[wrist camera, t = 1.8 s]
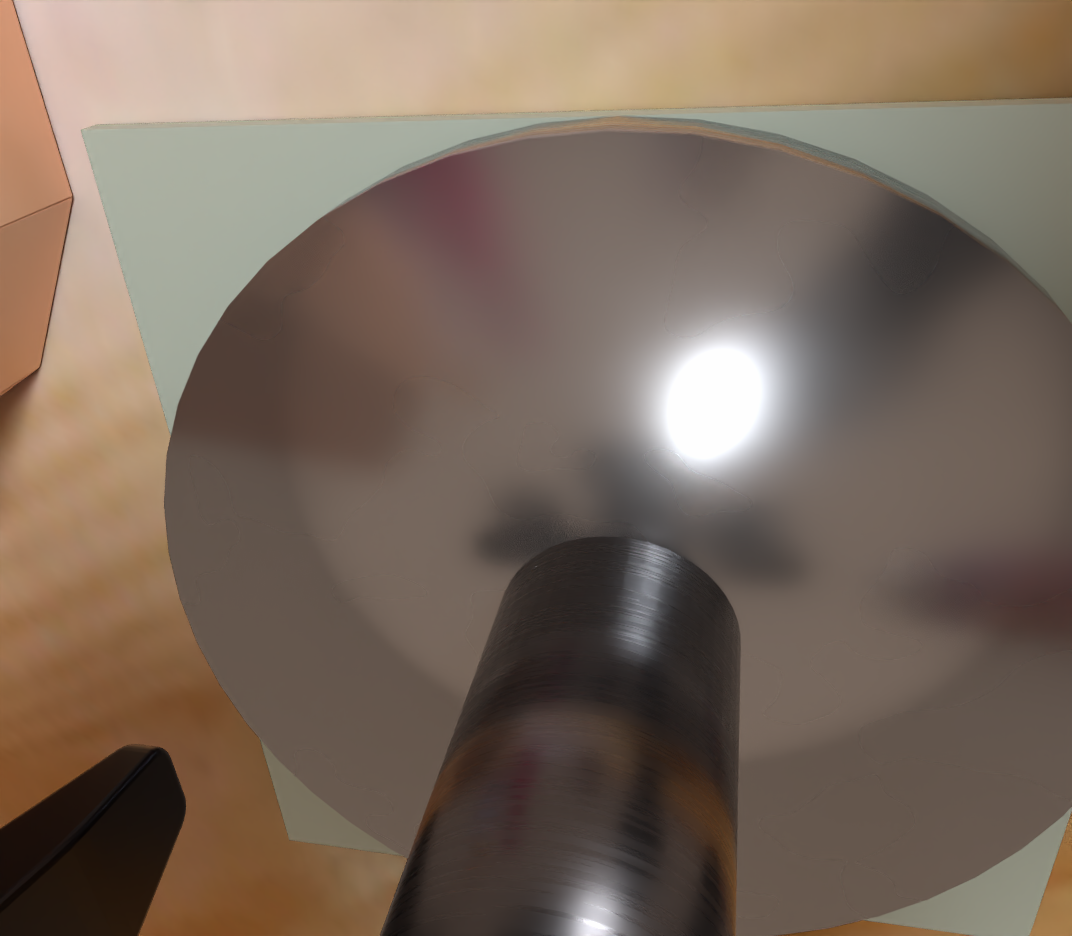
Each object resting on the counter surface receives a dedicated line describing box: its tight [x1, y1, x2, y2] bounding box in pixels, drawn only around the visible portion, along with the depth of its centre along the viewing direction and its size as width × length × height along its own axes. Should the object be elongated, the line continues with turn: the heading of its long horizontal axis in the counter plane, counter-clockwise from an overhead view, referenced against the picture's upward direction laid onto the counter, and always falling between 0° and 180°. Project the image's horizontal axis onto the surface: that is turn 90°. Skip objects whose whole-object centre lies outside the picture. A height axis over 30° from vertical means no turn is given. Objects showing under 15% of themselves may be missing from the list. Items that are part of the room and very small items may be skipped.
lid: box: [164, 116, 1072, 936], centre depth 10 cm, size 12×12×6 cm
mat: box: [81, 97, 1072, 936], centre depth 12 cm, size 12×12×1 cm
